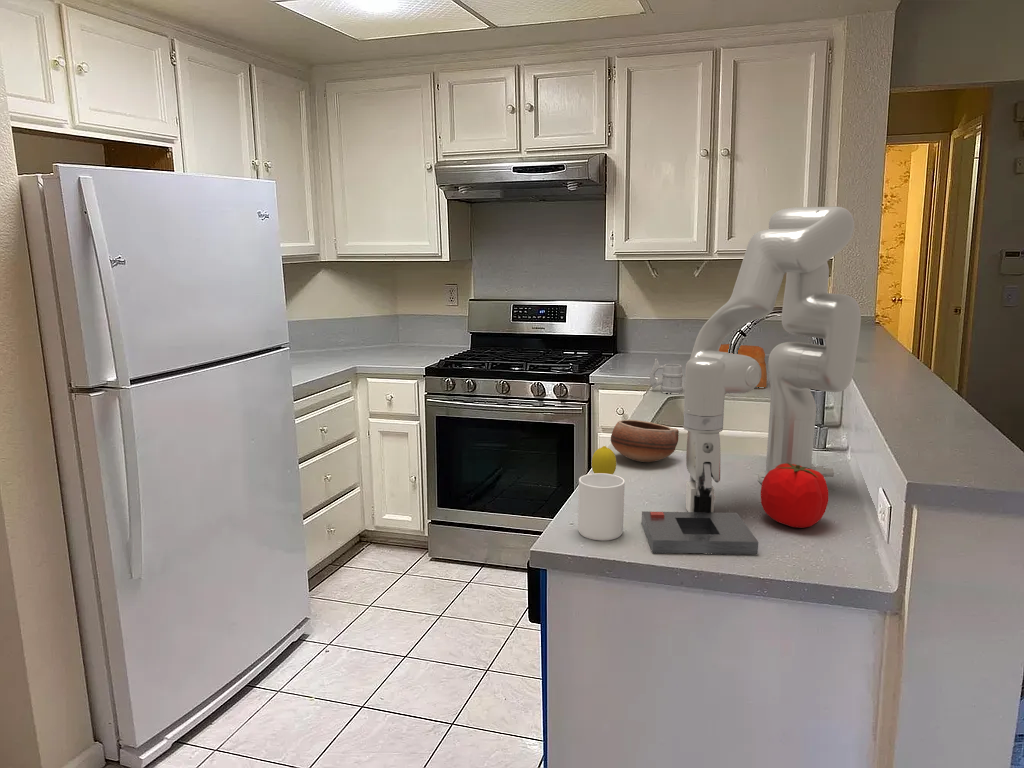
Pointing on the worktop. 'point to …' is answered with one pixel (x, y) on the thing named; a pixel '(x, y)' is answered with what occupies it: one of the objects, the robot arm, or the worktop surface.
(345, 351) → the worktop surface
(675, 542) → the socket
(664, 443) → the bowl
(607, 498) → the cup
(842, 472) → the worktop surface
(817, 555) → the worktop surface
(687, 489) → the plug
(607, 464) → the lemon
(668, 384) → the mug
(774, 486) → the tomato
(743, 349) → the bread
